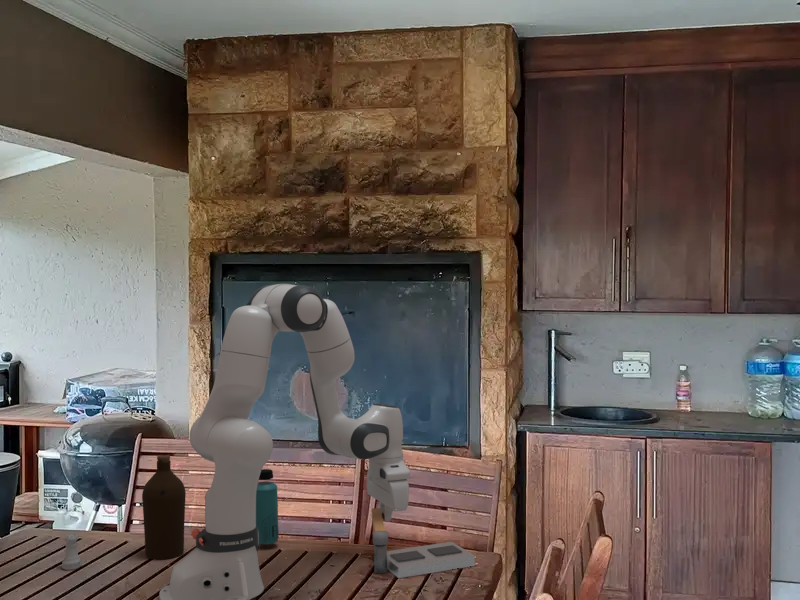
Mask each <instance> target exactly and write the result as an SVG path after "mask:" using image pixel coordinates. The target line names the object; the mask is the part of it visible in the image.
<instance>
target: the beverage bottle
mask: <svg viewBox="0 0 800 600" xmlns="http://www.w3.org/2000/svg"><path fill="white" fill-rule="evenodd" d="M273 471H274V470H273V469H269V468H262V470H261V473H260V477H259V480H260V482H259V481H258V485H257V491H256V526H258V533H259V545H271V544H275V543H277V542H278V541H279V536H280V532H279V531H280V530H279V499H278V485H277V484H276V483H275V482H273V481H266V480H272V479H274V472H273ZM261 480H263V481H261Z"/></svg>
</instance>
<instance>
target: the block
mask: <svg viewBox="0 0 800 600" xmlns="http://www.w3.org/2000/svg"><path fill="white" fill-rule="evenodd" d="M373 551H374V553H373V559H374V560H373V562H374V563H373V566H374V567H373V568H374V569H373V571H374V573H376V574H382V575H383V574H387V572H388V571H389V572H390V573H391V574H393V576H395V577H396V578H398V579H403V578H409V577H410V578H411V577H414V576H421V575H427V574H434V573H438V572H440V573H441V572H444V571H452V569H453V570H458V569H457V568H459V569H465V568H471V567H475V555H474V554H473V553H471V552H470V551H467V550H466V549H465V548H463V547H461V546H459V545H458V544H457V543H455V542H453V541H448V542H447V541H446V542H440V543H433V544H428V545H427V544H425V545H419V546H412V547H407V548H406V547H405V548H400V549H399V548H397V549H392V550H388V544H386V545H375V544H373ZM470 566H471V567H470Z"/></svg>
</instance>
